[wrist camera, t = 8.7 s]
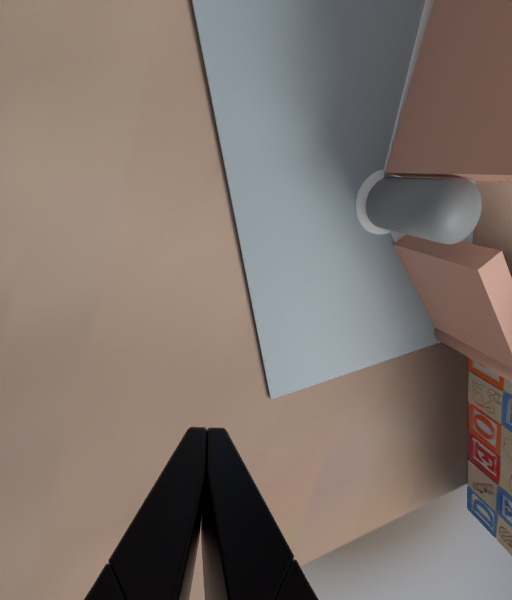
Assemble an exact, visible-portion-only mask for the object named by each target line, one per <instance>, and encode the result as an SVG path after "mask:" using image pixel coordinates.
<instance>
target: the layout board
mask: <svg viewBox="0 0 512 600" xmlns="http://www.w3.org/2000/svg"><path fill="white" fill-rule="evenodd" d="M433 3H434V0H192V6H193V11H194V16H195V21H196V26H197V31H198V36H199V41H200V46H201V51H202V56H203V61H204V66H205V71H206V76H207V81H208V86H209V92H210V97H211V102H212V107H213V112H214V117H215V122H216V127H217V132H218V137H219V142H220V147H221V152H222V157H223V162H224V167H225V172H226V178H227V183H228V188H229V193H230V198H231V203H232V208H233V213H234V218H235V223H236V228H237V233H238V238H239V243H240V248H241V253H242V258H243V264H244V269H245V274H246V279H247V284H248V289H249V294H250V299H251V304H252V309H253V314H254V319H255V324H256V329H257V334H258V339H259V344H260V350H261V355H262V360H263V365H264V370H265V375H266V380H267V385H268V390H269V395H270V399H274V398H277V397H280V396H283V395H286V394H289V393H292V392H295V391H298V390H301V389H304V388H307V387H310V386H313V385H316V384H319V383H322V382H325V381H328V380H331V379H333V378H336V377H339V376H342V375H345V374H348V373H351V372H354V371H357V370H360V369H363V368H366V367H369V366H372V365H375V364H378V363H381V362H384V361H387V360H390V359H393V358H396V357H399V356H401V355H404V354H407V353H410V352H413V351H416V350H419V349H422V348H425V347H428V346H431V345H434V344H437V343H440V342H441V341H439V340H437V339H436V337H435V335H434V329H435V326H434V325H433V323H432V321H431V319H430V317H429V315H428V313H427V311H426V309H425V307H424V305H423V303H422V301H421V299H420V298H419V296H418V294H417V292H416V290H415V288H414V286H413V284H412V282H411V280H410V278H409V276H408V274H407V272H406V271H405V269H404V267H403V265H402V263H401V261H400V259H399V257H398V255H397V253H396V251H395V249H394V247H393V245H392V244H393V243H394V242H397V241H398V240H400V239H401V238H402V237H403V236H405V235H406V234H403V233H399V232H395V231H391V230H387V229H383V228H379V227H377V226H375V225H373V224H372V223H371V222H370V220H369V218H368V216H367V213H366V200H367V196H368V194H369V192H370V190H371V188H372V187H373V186H374V185H375V184H376V183H377V182H378V181H380V180H381V179H383V178H386V177H400V176H396V175H392V174H388V173H385V172H386V169H387V165H388V162H389V158H390V155H391V151H392V148H393V144H394V141H395V137H396V134H397V130H398V127H399V123H400V120H401V116H402V113H403V109H404V105H405V102H406V98H407V95H408V91H409V88H410V84H411V81H412V77H413V74H414V70H415V67H416V63H417V60H418V56H419V53H420V49H421V46H422V42H423V39H424V35H425V32H426V28H427V25H428V21H429V17H430V14H431V10H432V7H433ZM471 182H472V183H474V184H475V181H471ZM462 242H466V243H471V244H473V231H472V232H471V233H470V235H469V236H467V237H466V238H465V239H464V240H462Z"/></svg>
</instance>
